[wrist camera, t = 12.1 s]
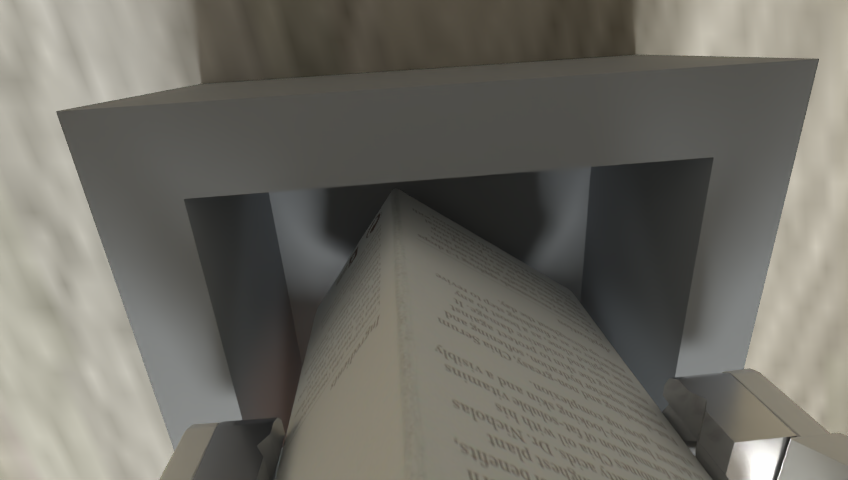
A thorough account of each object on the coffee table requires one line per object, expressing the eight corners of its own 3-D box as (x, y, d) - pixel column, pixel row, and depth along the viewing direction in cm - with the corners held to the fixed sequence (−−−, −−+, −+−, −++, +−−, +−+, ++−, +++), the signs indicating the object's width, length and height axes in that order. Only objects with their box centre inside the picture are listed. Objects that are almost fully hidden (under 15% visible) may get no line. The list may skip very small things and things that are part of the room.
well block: (201, 83, 13) (56, 111, 7) (636, 54, 13) (818, 59, 8) (279, 428, 17) (229, 609, 12) (600, 395, 18) (698, 553, 12)
